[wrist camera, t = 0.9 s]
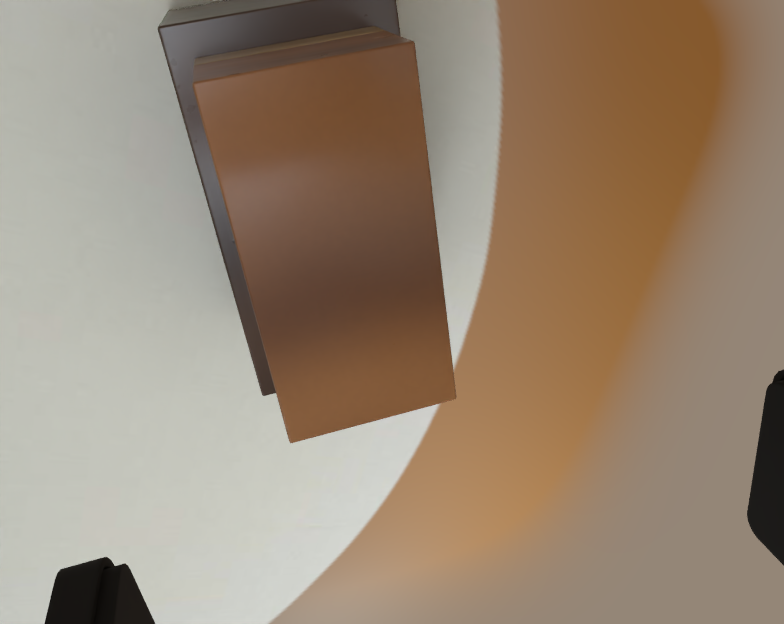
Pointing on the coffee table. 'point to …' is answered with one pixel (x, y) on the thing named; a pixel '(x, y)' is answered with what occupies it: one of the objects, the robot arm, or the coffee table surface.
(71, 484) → the coffee table surface
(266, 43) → the stand
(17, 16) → the coffee table surface
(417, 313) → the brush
